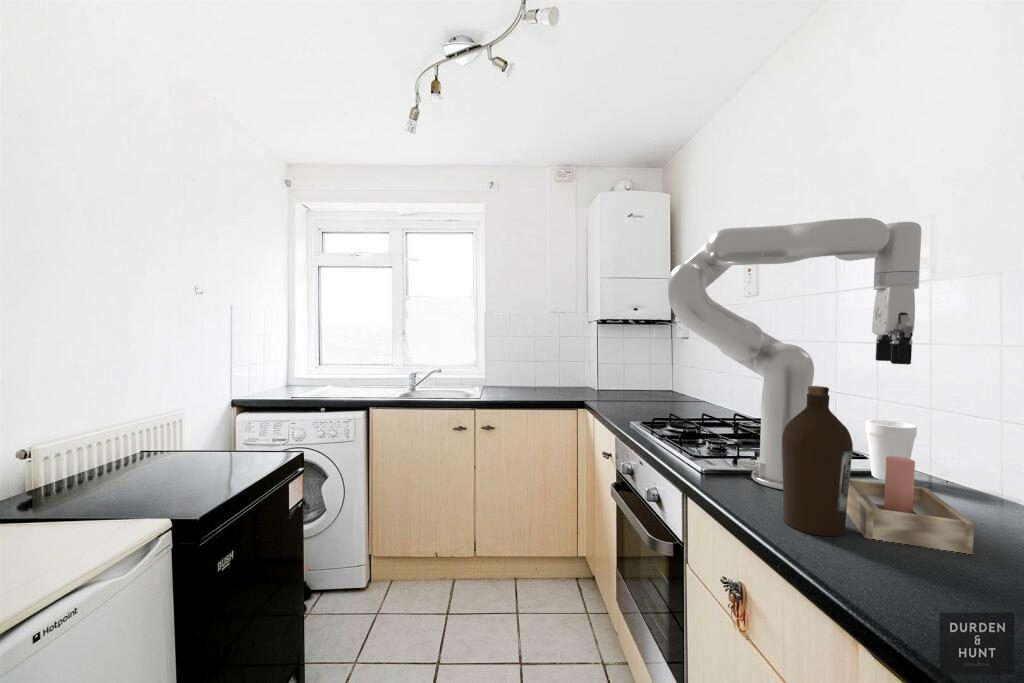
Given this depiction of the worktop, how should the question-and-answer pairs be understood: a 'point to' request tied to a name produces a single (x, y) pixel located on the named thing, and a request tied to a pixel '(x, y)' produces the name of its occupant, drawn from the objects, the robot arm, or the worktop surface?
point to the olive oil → (816, 468)
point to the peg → (899, 484)
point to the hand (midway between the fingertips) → (892, 362)
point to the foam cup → (888, 443)
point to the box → (909, 519)
